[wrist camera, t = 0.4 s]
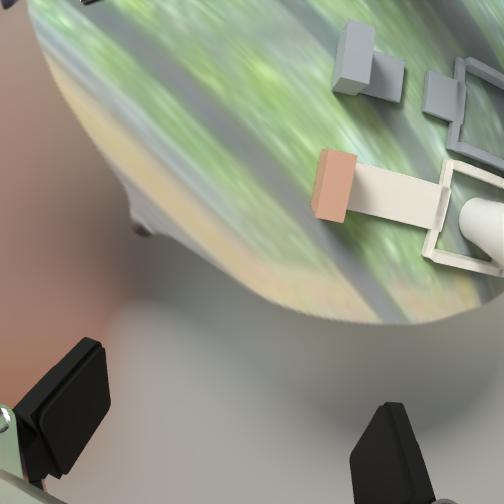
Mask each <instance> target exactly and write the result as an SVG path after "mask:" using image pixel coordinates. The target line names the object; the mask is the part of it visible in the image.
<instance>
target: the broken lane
mask: <svg viewBox="0 0 504 504" xmlns="http://www.w3.org/2000/svg"><path fill="white" fill-rule="evenodd" d="M375 28H376V26H373V25H369V24H366V23H362V22H358V21H354V20H350V19H348V21H347V23H346V26H345V28H344V30H343V32H342V34H341V37H340V39H339V41H338V48H337V55H336V62H335V69H334V76H333V83H332V89H331V91H336V92H340V93H344V94H349V95H353V96H355V95H356V94H358V93H362V94H366V95H370V96H374V97H377V98H381V99H384V100H388V101H391V102H394V103H399V102H400V99H401V91H402V83H403V74H404V64H405V60H402V59H399V58H396V57H393V56H390V55H387V54H383V53H380V52H377V51H373V48H374V38H375ZM465 71H467V72H469V73H472V74H474V75H476V76H478V77H480V78H482V79H484V80H486V81H488V82H490V83H491V84H493V85H495V86H497V87H499V88H501V89H503V90H504V74H502V73H500V72H499V71H497V70H495V69H493V68H491V67H489V66H487V65H486V64H484V63H482V62H480V61H478V60H476V59H474V58H472V57H468V58H466V59H463V58H461V57H457V58H455V68H454V79H452V78H450V77H448V76H445V75H443V74H440V73H438V72H435V71H433V70H430V69H429V70H427V71H426V77H425V87H424V96H423V104H422V112H425V113H427V114H430V115H433V116H436V117H438V118H441V119H444V120H446V121H449V128H448V135H447V142H446V149H449V150H451V151H454V152H457V153H459V154H462V155H465V156H467V157H470V158H472V159H475V160H477V161H480V162H482V163H484V164H487V165H489V166H491V167H494V168H496V169H498V170H501V171H503V172H504V160H503V159H501V158H498V157H496V156H494V155H492V154H490V153H487V152H485V151H483V150H480V149H478V148H476V147H473V146H471V145H468V144H466V143H463V142H458V139H459V132H460V125H463V118H464V109H465V98H466V86H467V85H466V84H465Z"/></svg>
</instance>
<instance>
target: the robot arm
mask: <svg viewBox="0 0 504 504" xmlns="http://www.w3.org/2000/svg"><path fill="white" fill-rule="evenodd" d="M110 405H111V399H110V392H109V383H108V374H107V364H106V352H105V348H103V347H102V345H101V343H100V342H99V341H96V340H93V339H90V338H87V337H84V338H83V339H82V340H81V341H80V342H79V343H78V344H77V345H76V346H75V347H74V348H73V349H72V350H71V351H70V352H69V353H68V354H67V355H66V356H65V357H64V358H63V359H62V360H61V361H60V362H59V363H58V364H57V365H55V366H54V367H52V368H51V370H49V371H48V372H47V373H46V375H45V376H44V377H43V378H42V379H41V380H40V381H39V382H38V383H37V384H36V385H35V386H34V387H33V388H32V389H31V390H30V391H29V392H28V393H27V394H26V395H25V396H24V398H23V399H22V400H21V401H20V402H19V403H18V404H17V405H16V406H15V407H14V408H13V409H12V410H11V409H10V408H8V407H7V406H5V405H2V404H0V504H67V503H65V502H63V501H61V500H59V499H57V498H55V497H53V496H51V495H50V494H48V493H47V489H46V485H45V481H44V479H45V478H46V476H47V475H48V474H50V475H52V476H54V477H56V478H57V479H60V478H61V476H62V475H63V474H64V475H66V474H68V473H69V471H70V470H71V468H72V467H73V465H74V463H75V462H76V460H77V458H78V457H79V456H80V454H81V452H82V451H83V449H84V448H85V446H86V444H87V443H88V441H89V440H90V438H91V437H92V435H93V434H94V432H95V431H96V429H97V427H98V426H99V424H100V423H101V421H102V420H103V418H104V417H105V415H106V414H107V412H108V411H109V408H110ZM350 469H351V476H352V485H353V494H354V503H355V504H457V503H455V502H454V501H452V500H449V499H439V500H436V498H435V495H434V492H433V488H432V485H431V482H430V478H429V475H428V472H427V469H426V466H425V463H424V460H423V457H422V454H421V451H420V448H419V445H418V443H417V441H416V439H415V436H414V433H413V430H412V427H411V424H410V421H409V419H408V416H407V413H406V411H405V408H404V405H403V404H402V403H395V402H386V403H384V405H383V406H379V408H378V409H377V411H376V413H375V414H374V416H373V418H372V420H371V422H370V423H369V425H368V426H367V428H366V430H365V432H364V433H363V435H362V436H361V438H360V440H359V441H358V443H357V445H356V446H355V448H354V449H353V451H352V453H351V455H350Z"/></svg>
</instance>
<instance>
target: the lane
mask: <svg viewBox="0 0 504 504" xmlns="http://www.w3.org/2000/svg"><path fill="white" fill-rule="evenodd" d="M356 160H357V155H353V154H349V153H345V152H340V151H336V150H332V149H322V150H321V154H320V159H319V165H318V170H317V175H316V181H315V186H314V191H313V196H312V201H311V207H312V210H313V212H314V215H315V217H316V218H321V219H326V220H331V221H336V222H340V223H343V222H344V218H345V214H346V209H347V210H352V211H356V212H361V213H365V214H370V215H374V216H378V217H383V218H387V219H391V220H395V221H400V222H404V223H408V224H412V225H416V226H420V227H424V228H428V231H427V234H426V238H425V242H424V245H423V249H422V252H421V254H422V255H423V256H424V257H428V258H430V259H432V260H433V261H434V262H437V263H441V264H446V265H450V266H454V267H459V268H463V269H468V270H472V271H476V272H480V273H485V274H489V275H493V276H497V277H502V278H503V277H504V269H503V268H502V267H501V266H500V265H499V264H498V263H497V262H496V261H494V260H493V259H491V262H487V261H483V260H479V259H475V258H471V257H467V256H463V255H459V254H455V253H451V252H447V251H443V250H439V249H435V248H434V247H435V244H436V240H437V237H438V233H439V232H441V230H442V227H443V223H444V219H445V215H446V211H447V207H448V203H449V198H450V194H451V189H450V183H451V178H452V173H453V170H455V171H458V172H460V173H463V174H466V175H469V176H471V177H474V178H476V179H479V180H482V181H484V182H487V183H489V184H492V185H494V186H497V187H499V188H501V189H504V179H503V178H501V177H499V176H496V175H494V174H492V173H489V172H487V171H484V170H482V169H479V168H477V167H474V166H472V165H469V164H467V163H464V162H461V161H457V160H452V159H449V158H444V159H443V165H442V170H441V175H440V180H439V185H438V184H434V183H431V182H428V181H425V180H421V179H418V178H414V177H411V176H407V175H404V174H400V173H397V172H393V171H389V170H386V169H382V168H378V167H374V166H370V165H366V164H362V163H358V162H356Z"/></svg>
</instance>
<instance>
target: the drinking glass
mask: <svg viewBox="0 0 504 504" xmlns="http://www.w3.org/2000/svg"><path fill="white" fill-rule="evenodd" d="M459 227H460V230H461V232H462V234H463V236H464V237H465V238H466V239H468V240H469V241H471V242H472V243H474V244H475V245H477V246H478V247H479V248H480V249H481V250H483V251H484V252H485V253H486V254H487V255H489V256H490V257H491V258H492V259H493V260H494V261H496V262H497V263H498V264H499V265H500V266H501V267H502V268H503V269H504V203H502V202H496V201H491V200H486V199H483V198H479V197H476V198H472V199H470V200H468V201H467V202H466V203H465V204H464V205H463V207H462V209H461V211H460V215H459Z"/></svg>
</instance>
